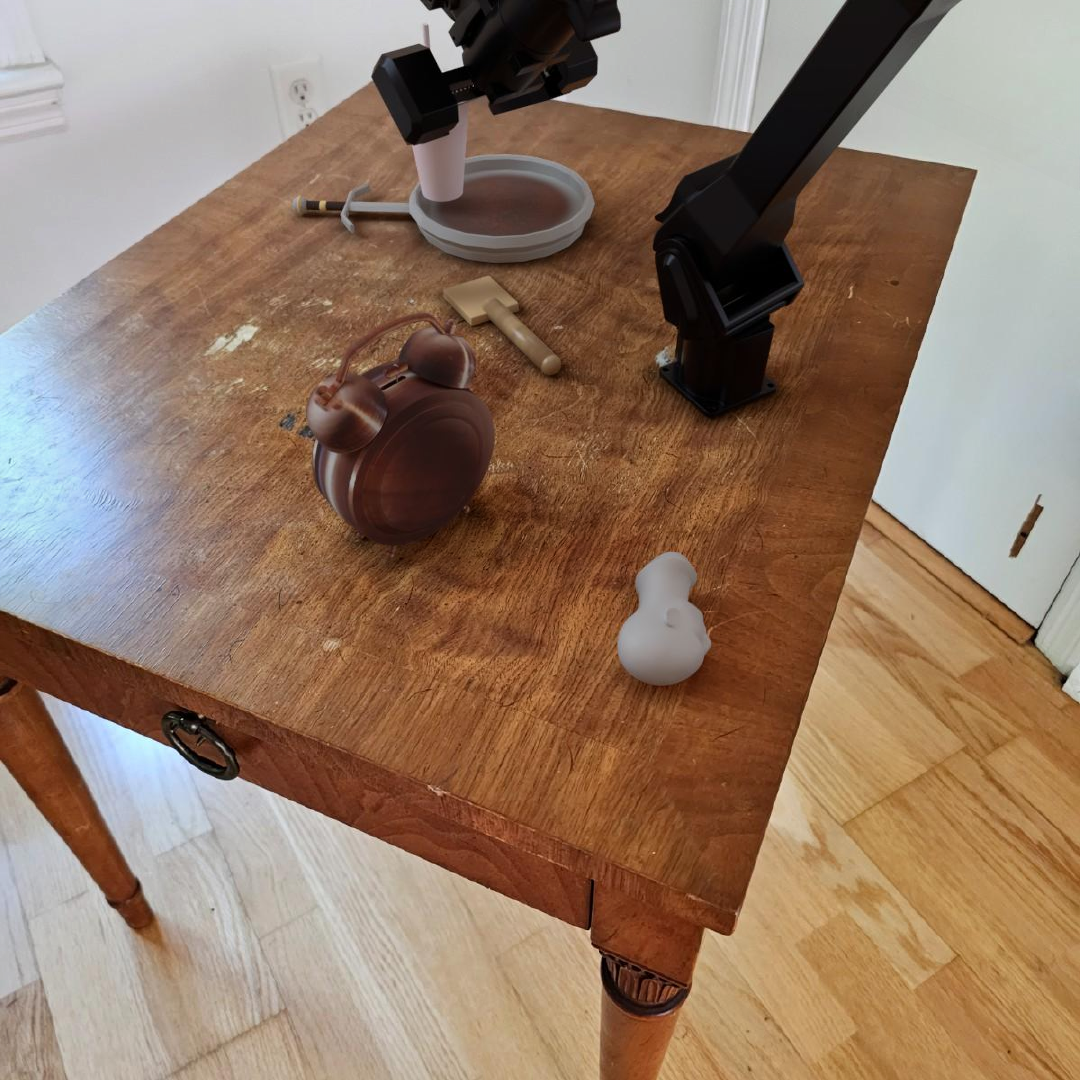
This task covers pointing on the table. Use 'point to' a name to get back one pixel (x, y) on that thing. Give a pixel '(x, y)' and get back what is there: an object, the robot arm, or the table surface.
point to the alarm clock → (402, 436)
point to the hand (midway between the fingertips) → (449, 124)
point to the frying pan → (491, 209)
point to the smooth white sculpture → (664, 624)
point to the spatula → (500, 318)
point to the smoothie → (443, 155)
